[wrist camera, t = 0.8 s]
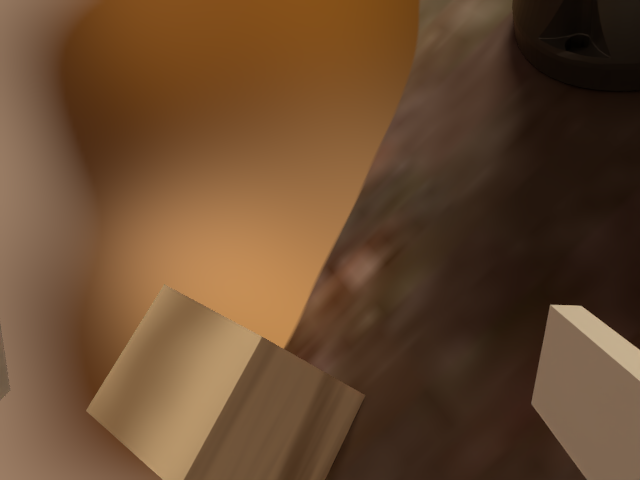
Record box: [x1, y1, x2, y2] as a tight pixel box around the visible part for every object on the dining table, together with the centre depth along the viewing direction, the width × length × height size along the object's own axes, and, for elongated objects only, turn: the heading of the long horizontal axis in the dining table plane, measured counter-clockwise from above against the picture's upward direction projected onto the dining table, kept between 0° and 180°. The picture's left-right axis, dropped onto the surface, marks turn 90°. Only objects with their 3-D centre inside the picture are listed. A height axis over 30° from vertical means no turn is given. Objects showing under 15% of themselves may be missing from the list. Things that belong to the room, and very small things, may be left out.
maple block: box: [86, 285, 365, 480], centre depth 24 cm, size 6×6×12 cm
